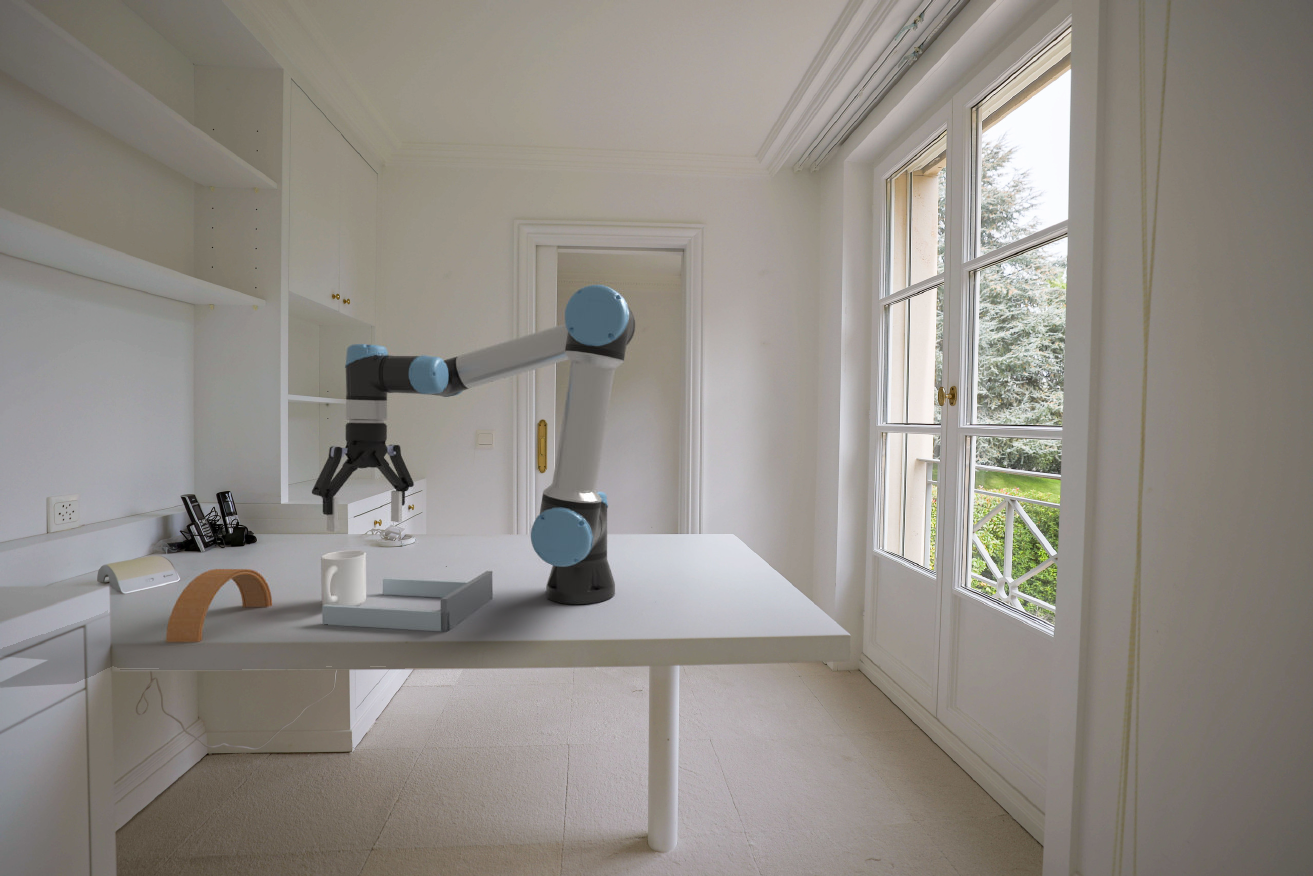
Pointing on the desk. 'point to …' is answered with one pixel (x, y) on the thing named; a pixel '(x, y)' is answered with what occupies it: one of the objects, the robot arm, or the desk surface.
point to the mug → (343, 578)
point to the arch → (201, 593)
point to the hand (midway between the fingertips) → (365, 526)
